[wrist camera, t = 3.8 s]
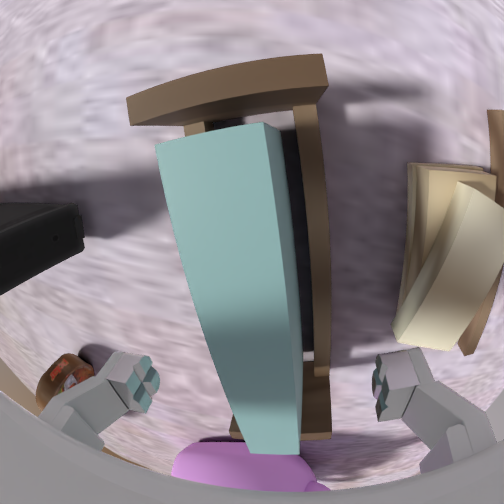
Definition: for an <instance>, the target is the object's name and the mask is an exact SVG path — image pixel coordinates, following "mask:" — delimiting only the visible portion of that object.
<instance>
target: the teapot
mask: <svg viewBox="0 0 504 504" xmlns="http://www.w3.org/2000/svg"><path fill="white" fill-rule="evenodd" d="M171 476H173V477H177V478H181V479H186V480H190V481H195V482H199V483H205V484H210V485H216V486H222V487H229V488H237V489H246V490H257V491H275V492H313V491H330V489H329V488H327V487H326V486H325V485H323V484H320V483H317V480H316V477H315V475H314V473H313V471H312V470H311V468H310V467H309V465H308V464H307V463H306V461H305V460H304V459H302V458H301V457H300V456H298V455H277V454H253V453H250V451H249V449H248V447H247V445H246V442H197V443H192V444H191V445H189V446H188V447H186V448H185V449H184V450H182V451H181V452H180V453H179V454H178V455H177V457H176V458H175V461H174V464H173V468H172V473H171Z"/></svg>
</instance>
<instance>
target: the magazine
mask: <svg viewBox="0 0 504 504" xmlns="http://www.w3.org/2000/svg"><path fill="white" fill-rule="evenodd" d="M83 238H85V235H84V230H83V224H82V218H81V215H79V214H78V207H77V205H76V204H74V203H69V204H66V205H61V204H42V203H1V204H0V295H2V294H4V293H6V292H7V291H9V290H11V289H13V288H14V287H16V286H18V285H20V284H21V283H23V282H25V281H27V280H28V279H30V278H32V277H34V276H36V275H38V274H39V273H41V272H43V271H45V270H47V269H49V268H51V267H53V266H54V265H56V264H58V263H60V262H62V261H64V260H66V259H68V258H70V257H72V256H74V255H76V254H78V253H80V252H82V251H83V250H84V248H85V247H84V242H83Z"/></svg>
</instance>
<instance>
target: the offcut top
mask: <svg viewBox="0 0 504 504" xmlns="http://www.w3.org/2000/svg"><path fill="white" fill-rule="evenodd" d="M503 263H504V208H503V207H501V206H500V205H498V204H497V203H495V202H494V201H493V200H491V199H490V198H488V197H487V196H485V195H484V194H482V193H481V192H479V191H478V190H476V189H474V188H472V187H470V186H467V185H465V184H463V183H460V182H457V185H456V188H455V191H454V194H453V196H452V199H451V202H450V205H449V208H448V210H447V213H446V215H445V218H444V220H443V223H442V225H441V228H440V230H439V233H438V235H437V237H436V240H435V242H434V244H433V246H432V248H431V251H430V253H429V255H428V257H427V259H426V261H425V263H424V265H423V267H422V269H421V271H420V273H419V275H418V277H417V279H416V281H415V283H414V285H413V287H412V289H411V290H410V292H409V294H408V296H407V298H406V299H405V301H404V303H403V305H402V306H401V308H400V310H399V311H398V313H397V315H396V316H395V318H394V320H393V321H392V323H391V327H392V330H393V332H394V335H395V338H396V340H397V342H398V343H403V344H409V345H414V346H420V347H426V348H432V349H438V350H444V351H450V350H451V349H452V347H453V346H454V345H455V343H456V342H457V340H458V339H459V338H460V336H461V335H462V333H463V332H464V331H465V329H466V328H467V326H468V325H469V323H470V322H471V320H472V319H473V317H474V316H475V314H476V312H477V311H478V309H479V307H480V306H481V304H482V303H483V301H484V299H485V297H486V296H487V294H488V292H489V290H490V289H491V287H492V285H493V283H494V281H495V279H496V277H497V275H498V273H499V271H500V269H501V267H502V265H503Z"/></svg>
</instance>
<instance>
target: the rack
mask: <svg viewBox="0 0 504 504" xmlns="http://www.w3.org/2000/svg"><path fill="white" fill-rule="evenodd" d="M328 86H329V85H328V80H327V74H326V69H325V64H324V60H323V55H322V54H307V55H294V56H285V57H276V58H269V59H262V60H256V61H250V62H244V63H239V64H234V65H229V66H224V67H220V68H216V69H212V70H208V71H204V72H200V73H196V74H193V75H189V76H186V77H182V78H179V79H176V80H173V81H170V82H167V83H164V84H161V85H158V86H155V87H152V88H149V89H147V90H144V91H142V92H139V93H136V94H134V95H131V96H129V97H127V98H126V100H127V107H128V114H129V121H130V126H184V132H185V137H187V136H191V135H195V134H200V133H204V132H209V131H214V126H213V122H218V121H223V120H228V119H234V118H239V117H245V116H251V115H257V114H264V113H271V112H279V111H288V110H293V115H294V121H295V127H296V134H297V141H298V148H299V156H300V164H301V172H302V180H303V189H304V198H305V207H306V218H307V229H308V240H309V253H310V267H311V284H312V303H313V330H314V361H312V362H303V391H302V418H301V437H300V441H302V440H323V439H331V435H332V417H331V397H330V380H329V371H330V349H331V257H330V234H329V218H328V204H327V192H326V181H325V171H324V162H323V153H322V145H321V137H320V130H319V123H318V116H317V110H316V103H317V102H318V100H319V99H320V97H321V96H322V95H323V93H324V92H325V90H326V89H327V87H328ZM487 115H488V124H489V136H490V156H491V174H492V175H495V176H496V191H495V203H497V204H498V205H500V206H501V207H503V208H504V110H487ZM503 265H504V263H503ZM503 265H502V267H501V269H500V271H499V273H498V275H497V277H496V279H495V281H494V283H493V285H492V287H491V289H490V290H489V292H488V294H487V296H486V297H485V299H484V301H483V303H482V304H481V306H480V307H479V309H478V311H477V312H476V314H475V316H474V317H473V319H472V320H471V322H470V323H469V325H468V326H467V328H466V329H465V331H464V332H463V333H462V335H461V336H460V338H459V341H458V346H459V347H460V349H461V351H462V353H463V355H464V356H467V355H470V354H473V353H474V351H475V349H476V347H477V344H478V342H479V340H480V337H481V335H482V332H483V330H484V327H485V325H486V322H487V319H488V316H489V313H490V311H491V308H492V304H493V301H494V298H495V295H496V292H497V288H498V284H499V281H500V277H501V273H502V269H503ZM229 433H230V435H231V437H232V438H235V439H244V438H243V435H242V433H241V431H240V428H239V426H238V424H237V421H236V419H235V417H234V414H233V417H232V421H231V425H230V429H229Z"/></svg>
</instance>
